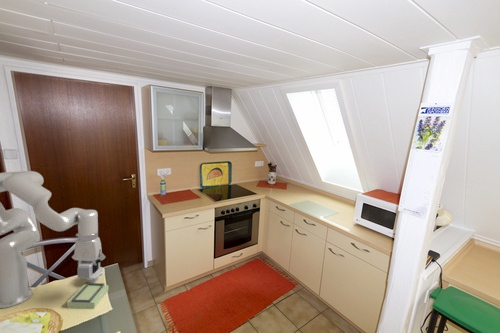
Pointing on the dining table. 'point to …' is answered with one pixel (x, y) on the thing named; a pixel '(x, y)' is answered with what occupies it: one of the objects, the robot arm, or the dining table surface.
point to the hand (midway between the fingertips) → (89, 270)
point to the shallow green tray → (88, 296)
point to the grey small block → (86, 269)
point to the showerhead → (96, 275)
